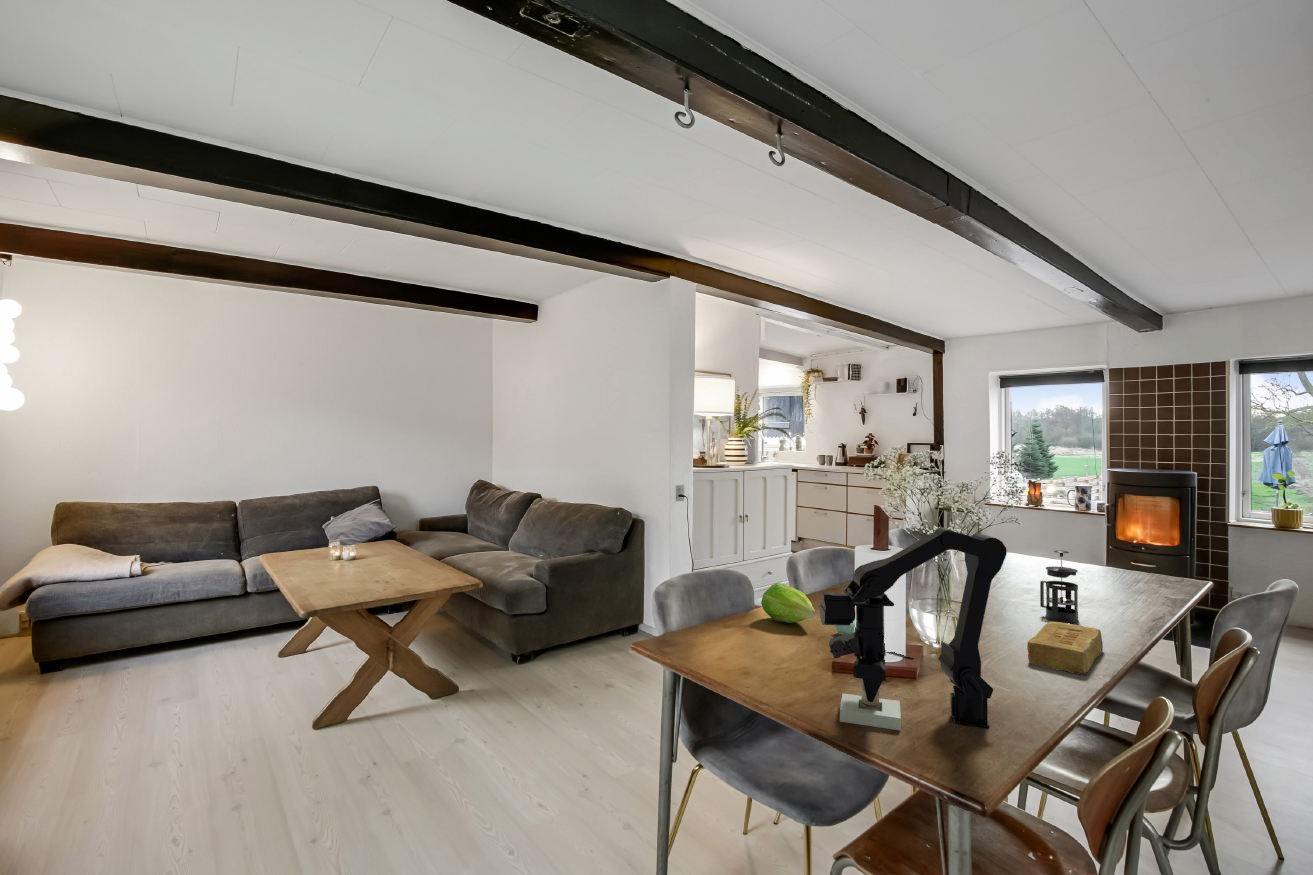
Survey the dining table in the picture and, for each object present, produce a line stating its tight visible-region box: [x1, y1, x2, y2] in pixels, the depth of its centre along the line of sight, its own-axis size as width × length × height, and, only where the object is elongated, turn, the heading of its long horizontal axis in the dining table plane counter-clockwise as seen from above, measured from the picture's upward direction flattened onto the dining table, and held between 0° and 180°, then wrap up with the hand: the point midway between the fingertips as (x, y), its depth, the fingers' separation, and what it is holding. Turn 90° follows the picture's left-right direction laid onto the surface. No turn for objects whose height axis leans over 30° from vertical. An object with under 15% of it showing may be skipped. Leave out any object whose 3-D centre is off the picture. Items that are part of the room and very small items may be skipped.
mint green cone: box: [834, 620, 856, 636], centre depth 179 cm, size 5×6×27 cm
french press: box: [1039, 549, 1080, 624], centre depth 204 cm, size 12×9×23 cm
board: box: [839, 693, 902, 732], centre depth 132 cm, size 12×9×2 cm
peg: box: [860, 678, 880, 711], centre depth 132 cm, size 4×4×9 cm
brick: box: [1026, 621, 1104, 675], centre depth 169 cm, size 13×26×7 cm, turn 136°
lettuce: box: [760, 582, 816, 623], centre depth 200 cm, size 14×20×12 cm
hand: (870, 697), depth 132 cm, fingers closed on peg, 4 cm apart
